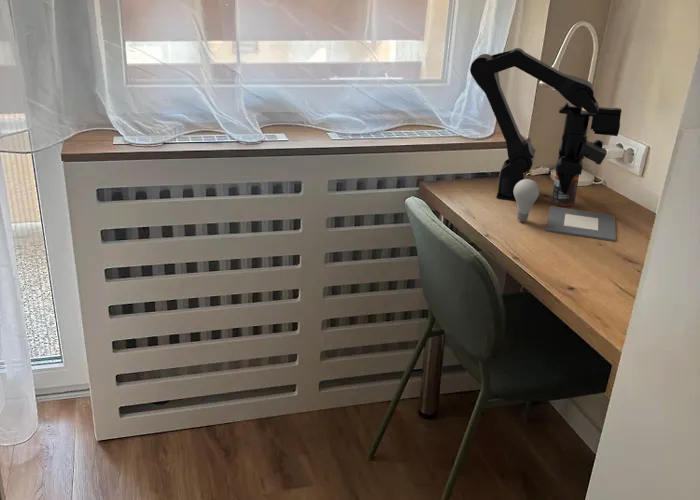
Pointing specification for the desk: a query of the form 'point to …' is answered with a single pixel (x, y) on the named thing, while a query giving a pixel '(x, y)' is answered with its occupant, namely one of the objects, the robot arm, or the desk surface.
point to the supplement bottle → (564, 198)
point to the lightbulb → (525, 197)
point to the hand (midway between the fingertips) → (564, 189)
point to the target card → (581, 223)
